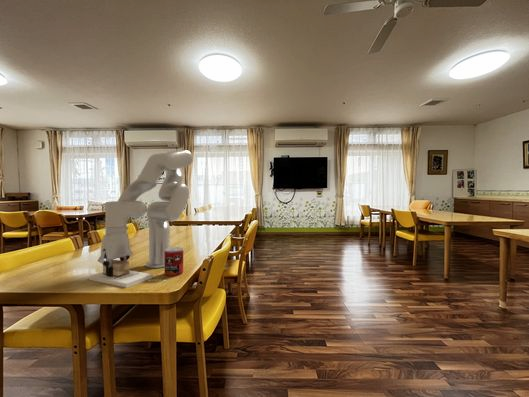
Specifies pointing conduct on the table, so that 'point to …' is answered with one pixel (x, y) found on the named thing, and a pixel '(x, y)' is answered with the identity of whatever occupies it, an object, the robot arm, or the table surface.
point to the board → (122, 278)
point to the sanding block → (118, 268)
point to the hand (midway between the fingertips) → (116, 273)
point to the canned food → (173, 261)
